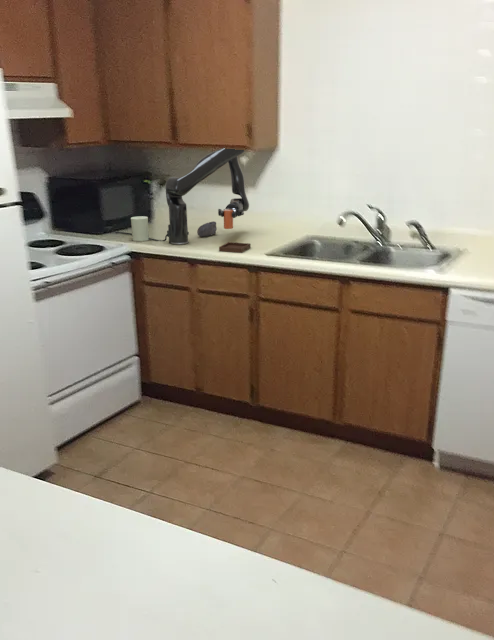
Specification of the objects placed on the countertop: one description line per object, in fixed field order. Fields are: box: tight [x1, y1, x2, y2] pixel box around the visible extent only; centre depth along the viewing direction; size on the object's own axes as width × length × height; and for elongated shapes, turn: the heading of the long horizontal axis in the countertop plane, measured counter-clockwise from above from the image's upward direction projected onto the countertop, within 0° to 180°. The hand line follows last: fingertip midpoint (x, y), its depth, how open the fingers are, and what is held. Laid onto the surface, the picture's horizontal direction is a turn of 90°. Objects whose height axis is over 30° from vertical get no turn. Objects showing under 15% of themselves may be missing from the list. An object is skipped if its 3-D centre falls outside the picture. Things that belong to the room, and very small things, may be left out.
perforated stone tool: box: [196, 221, 218, 238], centre depth 364 cm, size 15×5×7 cm, turn 139°
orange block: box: [223, 209, 234, 230], centre depth 339 cm, size 5×5×9 cm
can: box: [130, 215, 150, 242], centre depth 357 cm, size 9×9×12 cm
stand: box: [218, 241, 252, 254], centre depth 333 cm, size 12×12×2 cm
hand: (227, 214), depth 336 cm, fingers closed on orange block, 5 cm apart
